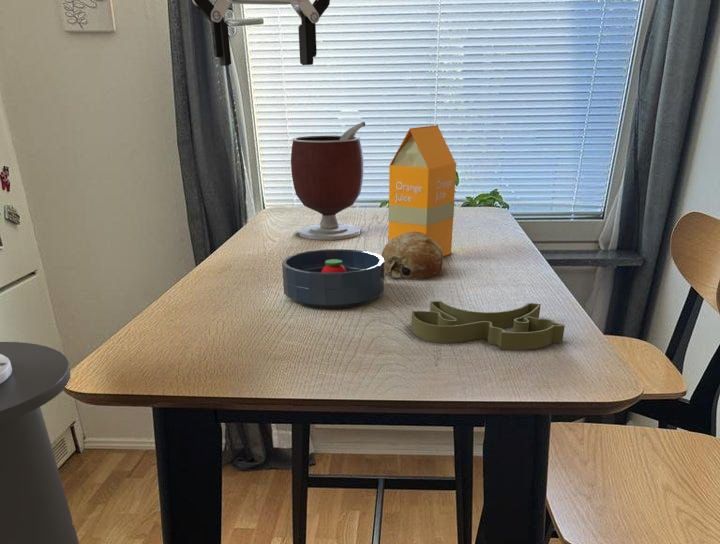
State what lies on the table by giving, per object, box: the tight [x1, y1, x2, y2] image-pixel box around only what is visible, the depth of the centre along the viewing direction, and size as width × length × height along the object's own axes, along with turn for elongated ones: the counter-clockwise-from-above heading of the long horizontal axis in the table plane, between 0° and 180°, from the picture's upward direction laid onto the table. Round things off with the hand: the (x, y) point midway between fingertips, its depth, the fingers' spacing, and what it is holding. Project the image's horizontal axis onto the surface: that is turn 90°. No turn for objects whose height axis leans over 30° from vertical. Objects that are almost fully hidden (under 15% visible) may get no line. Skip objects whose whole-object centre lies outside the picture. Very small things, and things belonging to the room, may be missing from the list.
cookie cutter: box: [410, 300, 566, 351], centre depth 82 cm, size 18×12×2 cm, turn 83°
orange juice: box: [388, 124, 457, 257], centre depth 112 cm, size 8×9×20 cm
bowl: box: [281, 248, 385, 309], centre depth 95 cm, size 14×14×5 cm
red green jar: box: [322, 259, 347, 273], centre depth 95 cm, size 4×4×4 cm
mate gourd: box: [290, 121, 366, 241], centre depth 129 cm, size 16×14×20 cm
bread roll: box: [381, 231, 444, 280], centre depth 106 cm, size 10×10×8 cm
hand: (266, 65), depth 78 cm, fingers open, 9 cm apart
